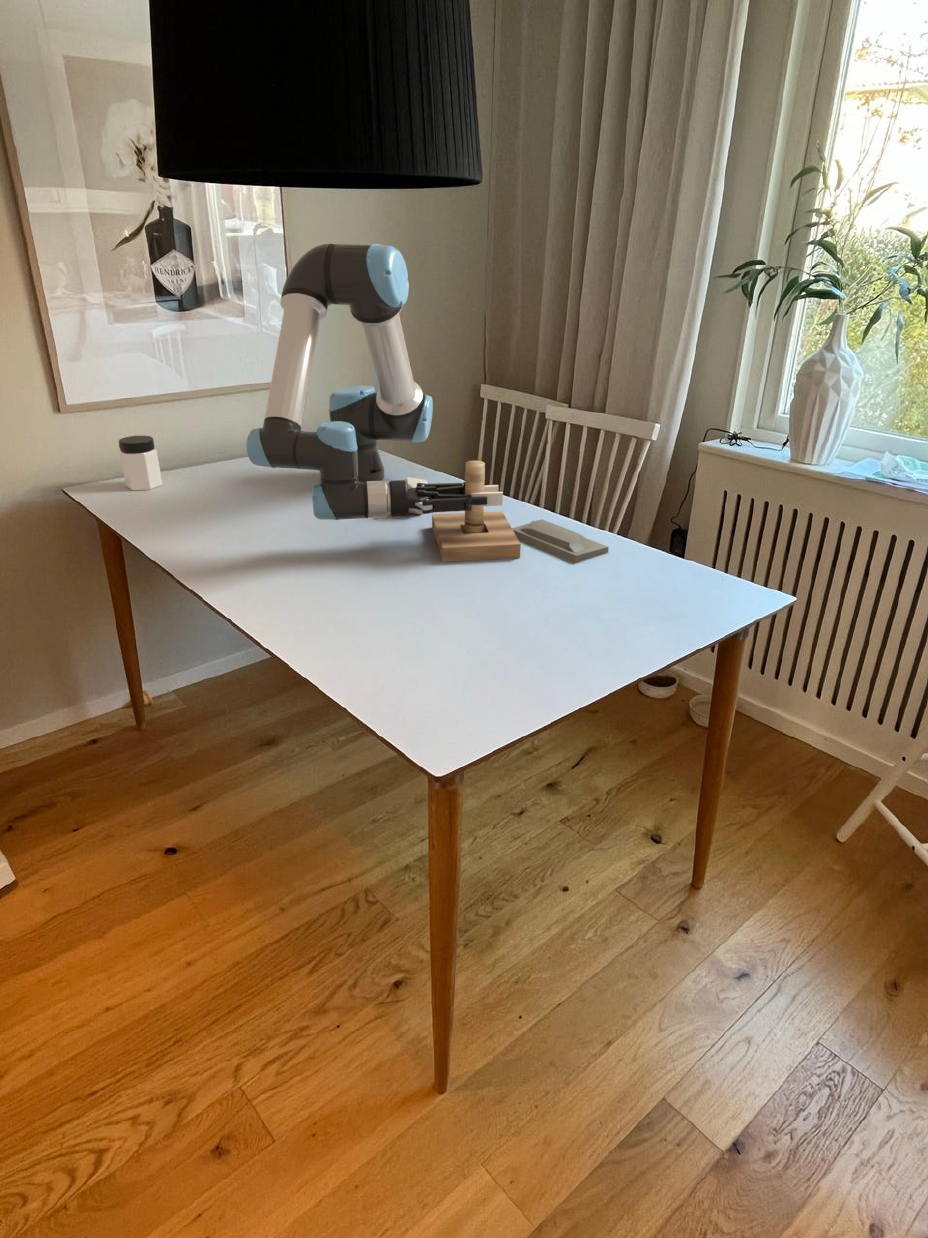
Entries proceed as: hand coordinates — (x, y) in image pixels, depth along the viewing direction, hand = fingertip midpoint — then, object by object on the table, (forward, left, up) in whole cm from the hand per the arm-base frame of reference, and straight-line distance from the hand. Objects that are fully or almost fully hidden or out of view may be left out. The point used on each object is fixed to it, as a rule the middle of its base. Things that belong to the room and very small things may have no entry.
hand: (499, 495), depth 167 cm
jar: (-49, -83, -10) cm, 97 cm away
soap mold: (+3, +12, -11) cm, 17 cm away
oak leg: (0, -5, -9) cm, 10 cm away
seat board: (0, -5, -10) cm, 12 cm away
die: (-21, -16, -10) cm, 29 cm away
